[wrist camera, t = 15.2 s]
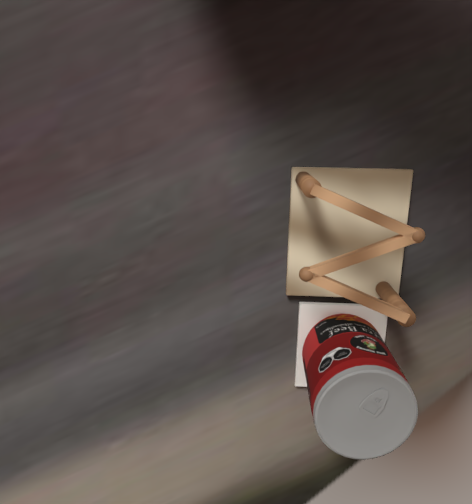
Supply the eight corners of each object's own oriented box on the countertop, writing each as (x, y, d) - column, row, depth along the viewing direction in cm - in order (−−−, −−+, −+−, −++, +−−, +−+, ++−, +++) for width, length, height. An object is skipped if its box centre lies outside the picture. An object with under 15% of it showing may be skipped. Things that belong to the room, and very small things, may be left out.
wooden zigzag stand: (291, 166, 40) (299, 175, 32) (409, 169, 39) (448, 178, 31) (285, 291, 43) (291, 328, 35) (394, 295, 42) (426, 333, 34)
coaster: (299, 301, 43) (299, 303, 42) (386, 304, 43) (388, 306, 42) (294, 382, 45) (295, 386, 45) (377, 386, 45) (379, 389, 44)
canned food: (391, 321, 42) (435, 384, 32) (364, 391, 45) (396, 472, 34) (315, 301, 42) (333, 357, 32) (291, 372, 44) (300, 446, 34)
